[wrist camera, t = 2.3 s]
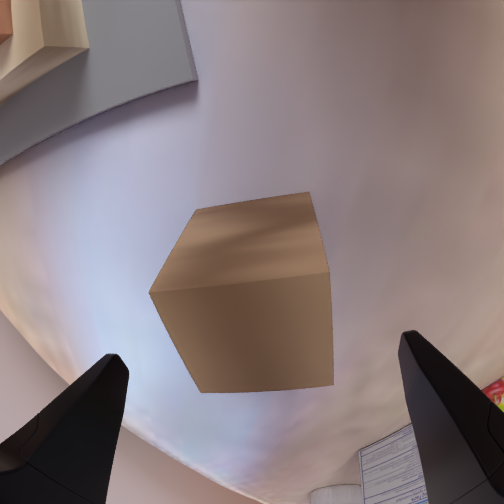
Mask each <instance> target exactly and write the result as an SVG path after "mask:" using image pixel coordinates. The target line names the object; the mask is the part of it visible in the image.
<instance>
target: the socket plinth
mask: <svg viewBox="0 0 504 504" xmlns="http://www.w3.org/2000/svg"><path fill="white" fill-rule="evenodd" d="M87 49H89V42H88V37H87V32H86V26H85V20H84V13H83V7H82V0H0V106H1V105H2V104H4V103H5V102H6V101H8V100H9V99H10V98H11V97H13V96H14V95H15V94H17V93H18V92H20V91H21V90H22V89H24V88H25V87H26V86H28V85H29V84H31V83H32V82H34V81H35V80H37V79H38V78H40V77H41V76H43V75H44V74H46V73H47V72H49V71H50V70H52V69H54V68H55V67H57V66H59V65H60V64H62V63H64V62H65V61H67V60H69V59H71V58H72V57H74V56H76V55H78V54H79V53H81V52H83V51H85V50H87Z"/></svg>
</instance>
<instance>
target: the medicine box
mask: <svg viewBox="0 0 504 504" xmlns="http://www.w3.org/2000/svg"><path fill="white" fill-rule="evenodd" d="M358 456H359V466H360V478H361V492H362V504H429V503H428V497H427V491H426V486H425V480H424V475H423V470H422V465H421V461H420V456H419V452H418V447H417V443H416V439H415V435H414V430H413V426H412V424H410V425H408V426H406V427H405V428H403V429H401V430H399V431H398V432H396V433H394V434H392V435H390V436H388V437H386V438H384V439H382V440H380V441H378V442H376V443H374V444H372V445H370V446H368V447H366V448H364V449H362V450H359V451H358Z"/></svg>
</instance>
